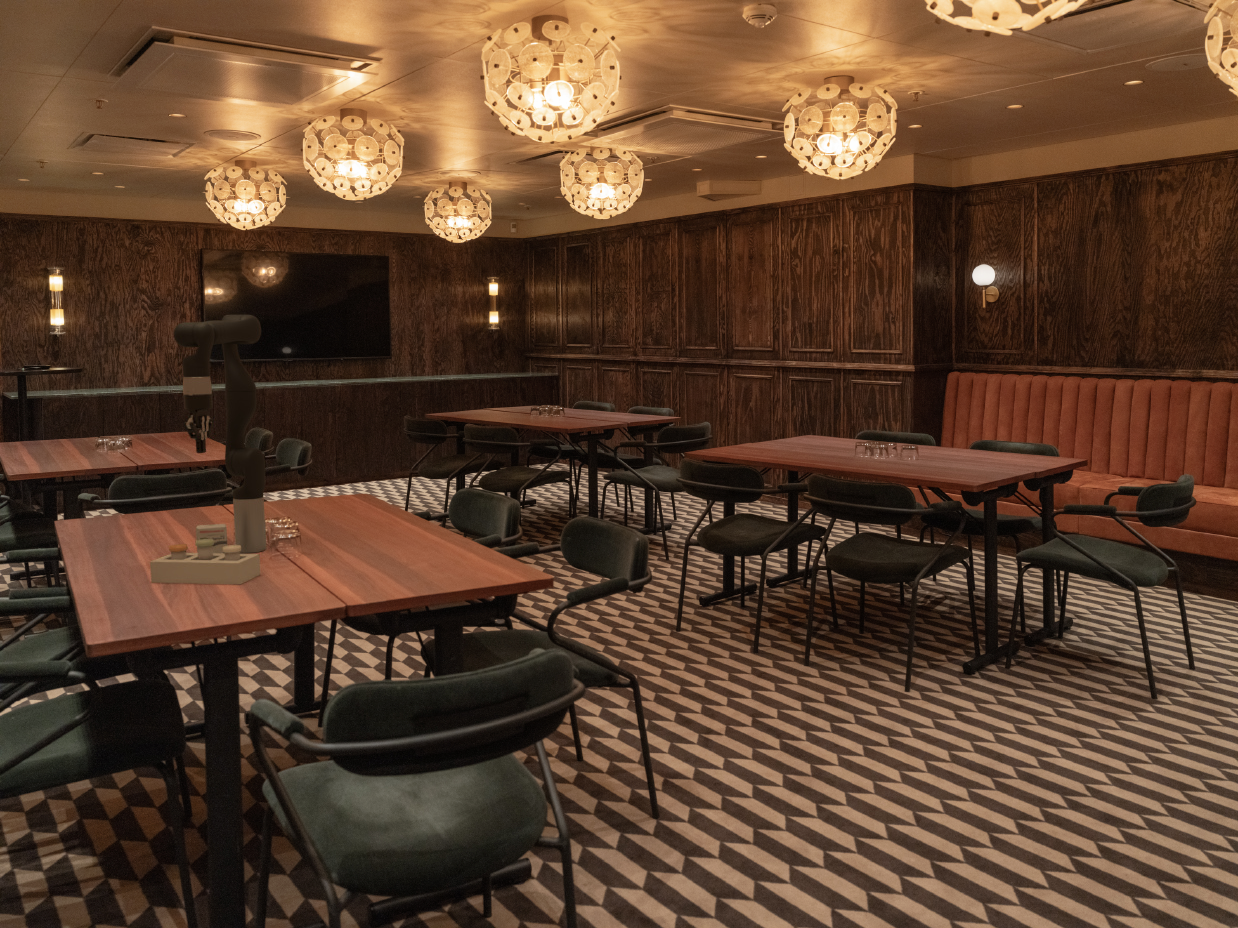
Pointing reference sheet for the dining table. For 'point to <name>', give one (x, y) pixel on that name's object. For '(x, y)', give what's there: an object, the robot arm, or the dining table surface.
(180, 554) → the terracotta plunger
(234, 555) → the cream plunger
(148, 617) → the dining table surface
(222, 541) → the ink box
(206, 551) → the sage plunger
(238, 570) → the panel
